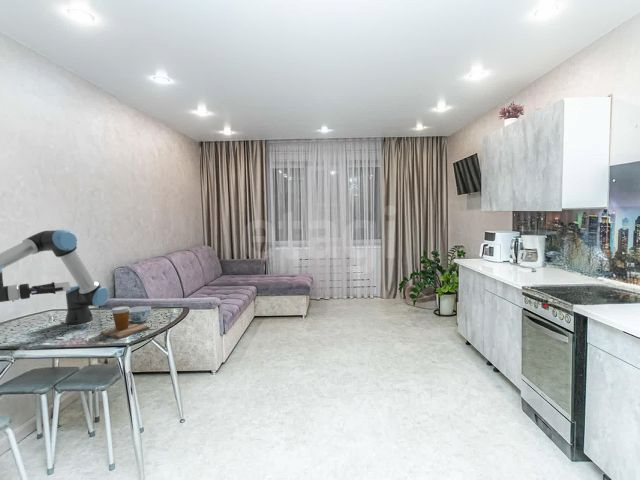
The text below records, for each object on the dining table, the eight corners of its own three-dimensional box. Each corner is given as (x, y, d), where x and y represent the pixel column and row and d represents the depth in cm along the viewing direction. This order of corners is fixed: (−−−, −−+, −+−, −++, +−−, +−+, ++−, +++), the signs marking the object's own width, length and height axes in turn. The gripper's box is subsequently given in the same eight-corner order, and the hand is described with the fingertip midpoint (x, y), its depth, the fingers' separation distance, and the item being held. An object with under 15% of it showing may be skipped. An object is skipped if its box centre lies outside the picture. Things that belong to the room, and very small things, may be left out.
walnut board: (101, 334, 218) (101, 331, 217) (131, 325, 233) (131, 323, 233) (119, 338, 208) (118, 335, 208) (149, 329, 223) (149, 326, 223)
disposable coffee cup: (116, 326, 226) (115, 306, 225) (133, 325, 227) (132, 305, 226) (110, 331, 217) (108, 310, 216) (127, 330, 218) (126, 309, 217)
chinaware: (141, 324, 233) (140, 312, 233) (120, 324, 236) (119, 312, 236) (156, 317, 248) (155, 306, 247) (136, 317, 251) (135, 306, 250)
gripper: (21, 295, 204) (69, 289, 216) (19, 303, 183) (71, 296, 196) (20, 281, 203) (68, 276, 215) (17, 288, 183) (70, 281, 195)
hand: (70, 285), depth 205 cm, fingers open, 13 cm apart
